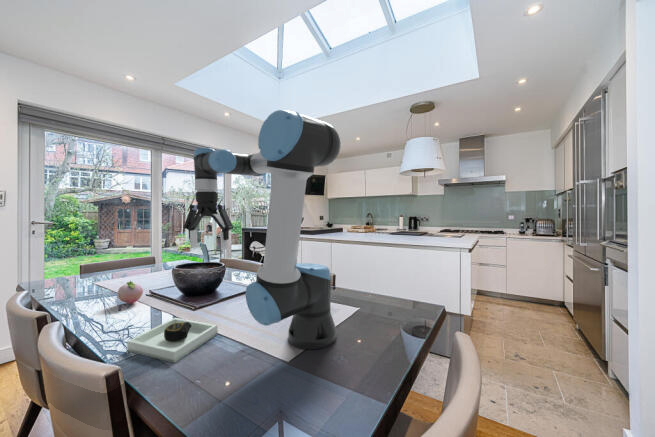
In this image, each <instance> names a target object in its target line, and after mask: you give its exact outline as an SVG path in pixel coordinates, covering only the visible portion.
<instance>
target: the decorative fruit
mask: <svg viewBox="0 0 655 437" xmlns="http://www.w3.org/2000/svg"><path fill="white" fill-rule="evenodd" d="M143 294H144V289H143V287H142V285H140V284H138V283H135V282H134V281H131V280H129V281H127V282H126V283H125V284H123V285H121V286H120V287H119V289H118V290H117V297H118V299H119V301H120V302H123V303H126V304H131V305H133V304H135V303H137V301H139V300H140V299H141V297H142V296H143Z"/></svg>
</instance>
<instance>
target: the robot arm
mask: <svg viewBox="0 0 655 437" xmlns="http://www.w3.org/2000/svg"><path fill="white" fill-rule="evenodd" d="M257 140H258V142H257V145H258V149H259V152H257V153H253V154H244V153H237V152H232V151H230V150H229V149H224V148H223V149H217V150H215V149H214V148H210V147H197V148H195V149H194V151H193V165H194V166H193V168H194V188H195V189H194V190H195V191H196V192H195V202H197V204H195V203H192V204H189V211H188V214H187V217H186V220H185V223H184V225H183V229H184V230H185V229H187V231H188V238H189V242H190V244H189V245H190V249H193V248H198V246H199V245H198V243H199V242H198V230H197V226H198V225H199V223H201V221H202V219H203V218H204V217H207V218H209V217H211V218H212V219H213V220H214V221H215V223H216V225H218V227H219V229H221V231H220V232H219V234H220V235H219V236H220V250H226V249H227V250H228V248H229V247H228V240H229V239H230V238H229V236H230V234H229V233H230V232H229V231H231V230H234V225H233V223H232V220H230V217H229V214H228V213H227V210H226V205H225V204H223V203H220V204H218V201H219V194H218V189H219V188H218V174H224V175H225V174H226V175H236V176H237V175H239V176H250V177H251V176H252V177H263V176H265V175H266V174H267V173H270V174H271V184H270V195H269V205H268V215H267V227H266V234H265V235H266V236H265V247H264V248H265V249H264V258H263V264H262V265H261V266H260V267H259V268H258V269H257V271H256V276H255V277H256V279H255V280H256V281H252V282H251V283H249V284H248V285H247V287H246V289H245V301H246V305H247V308H248V310H249V312H250V314H251V316H252V318H253V319H254V320H255V321H256V322H257V323H258V324H260V325H262V326H271V325H273V324H278V323H280V322H281V321H283V320H285V319H287V318H290V317H292V318H291V321H290V324H289V328H288V341H289V343H290V344H292V346H294V347H296V348H298V349H303V350H317V349H323V348H326V347H328V346H330V345H331V344H333V343H334V342H335V341H336V339H337V327H336V324H335V321H334V319H333V316H332V312H331V311H332V310H331V305H332V304H331V301H332V300H331V295H332V293H331V282H332V281H331V280H332V278H331V271H330V268H329V267H328V266H327V265H324V264H319V263H309V262H304V263H297V261H298V252H299V246H300V237H301V230H302V229H301V228H302V221H303V212H304V206H305V204H304V203H305V197H306V196H305V195H306V188H307V181H308V178H309V179H310V177H311V176H313V175H314V172H315V168H316V167H326V166H328V165H330V164H332V163H333V162H334V161H335V160H336V159H337V157H338V155H339V154H340V150H341V138H340V136H339V133H338V132H337V130H336V129H335V127H333V126H332V125H331V124H329V123H327V122H326V121H323V120H319V119H316V118H313V117H310V116H307V115H305V114H303V113H300V112H297V111H292V110H285V109H279V110H275V111H273V112H271V113H270V114H269V115H268V116H267V118H266V119H265V120H264V121H263V123H262V125H261V127H260V130H259V134H258V139H257Z"/></svg>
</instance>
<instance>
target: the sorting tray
mask: <svg viewBox="0 0 655 437" xmlns="http://www.w3.org/2000/svg"><path fill="white" fill-rule="evenodd" d="M185 322H189V323H190V325H191V324H192V325H191V327H190V330H189V332H188V335H187V338H185V339H182V340H178V341H174V342H171V341H167V340H165V338H164V331H165V329H166V327H168V326H169V325H172V324H175V323H185ZM218 333H219V332H218V324H213V323H208V322H202V321H196V320H191V319H186V318H185V319H184V318H179V317H173V318H171V319H169V320H167V321H166V322H163V323H161V324H159V325H157V326H155V327H153V328H150V329H149V330H147V331H145V332H143V333H141V334H139V335H137V336H135V337H132V338H131V339H128V340H127V341H126V343H127V346H126V347H127V352H129V353H134V354H136V355H137V354H138V355H142V356H146V357H150V358H154V359H158V360H162V361H165V362H170V363H174V364H176V363H177V362H179V361H180V360H181V359H183V358H185V357H186V356H187V355H189V354H191V353H192V352H194V351H195V350H196V349H198V348H199V347H201V346H203V344H205V343H207V342H209V341H210V340H211V339H213V338H214V337H216V336H217V335H218Z"/></svg>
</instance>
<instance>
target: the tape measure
mask: <svg viewBox="0 0 655 437" xmlns="http://www.w3.org/2000/svg"><path fill="white" fill-rule="evenodd" d="M191 325H192V324H191ZM191 325H190V323H189V322H185V323H175V324H172V325H169V326H168V327H166V329H165V331H164V338H165V340H167V341H171V342H174V341H178V340H182V339H185V338H187V335H188V332H189V330H190V327H191Z"/></svg>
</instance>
